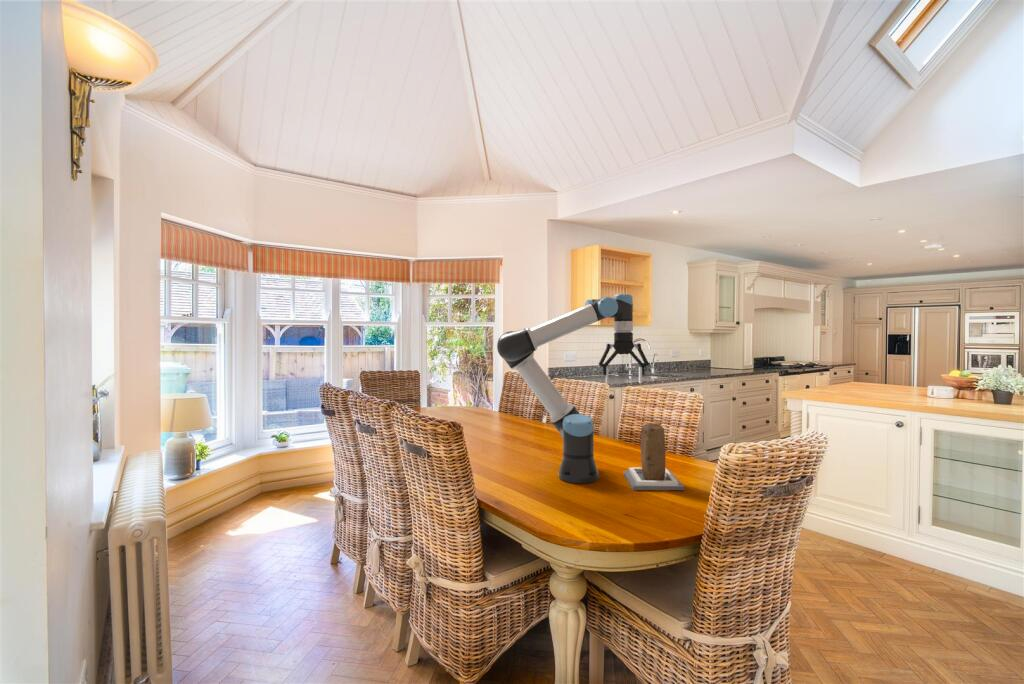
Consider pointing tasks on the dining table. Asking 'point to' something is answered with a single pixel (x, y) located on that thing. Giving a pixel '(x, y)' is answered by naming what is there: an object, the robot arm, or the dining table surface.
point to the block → (653, 452)
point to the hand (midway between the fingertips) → (623, 383)
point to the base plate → (652, 481)
